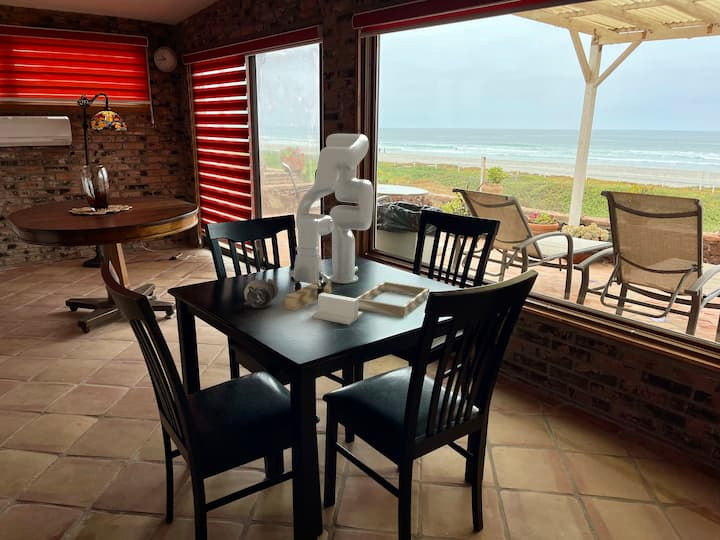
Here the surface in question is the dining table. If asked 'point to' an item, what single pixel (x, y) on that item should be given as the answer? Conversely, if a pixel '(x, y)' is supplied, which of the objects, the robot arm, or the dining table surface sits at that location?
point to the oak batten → (304, 296)
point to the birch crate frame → (392, 309)
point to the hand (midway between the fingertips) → (309, 296)
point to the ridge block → (337, 308)
